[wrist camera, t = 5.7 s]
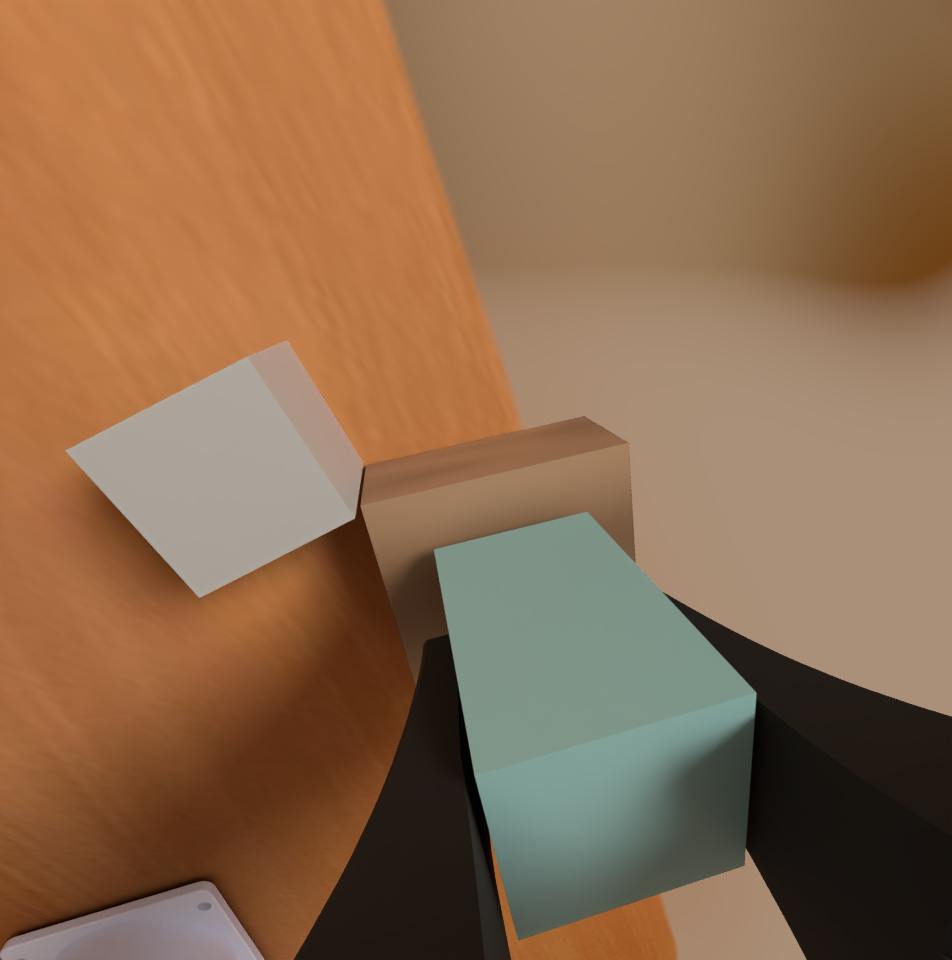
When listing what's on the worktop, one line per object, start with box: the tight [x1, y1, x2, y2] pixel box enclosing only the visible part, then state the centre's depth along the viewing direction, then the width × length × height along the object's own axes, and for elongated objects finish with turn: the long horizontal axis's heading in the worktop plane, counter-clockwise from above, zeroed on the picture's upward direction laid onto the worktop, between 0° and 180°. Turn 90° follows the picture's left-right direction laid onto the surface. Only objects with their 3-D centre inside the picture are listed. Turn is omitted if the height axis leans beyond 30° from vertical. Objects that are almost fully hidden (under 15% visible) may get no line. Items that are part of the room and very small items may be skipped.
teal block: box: [434, 512, 756, 940], centre depth 10 cm, size 4×4×6 cm
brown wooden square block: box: [360, 416, 635, 686], centre depth 15 cm, size 7×7×3 cm
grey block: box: [66, 340, 363, 598], centre depth 12 cm, size 4×4×4 cm
